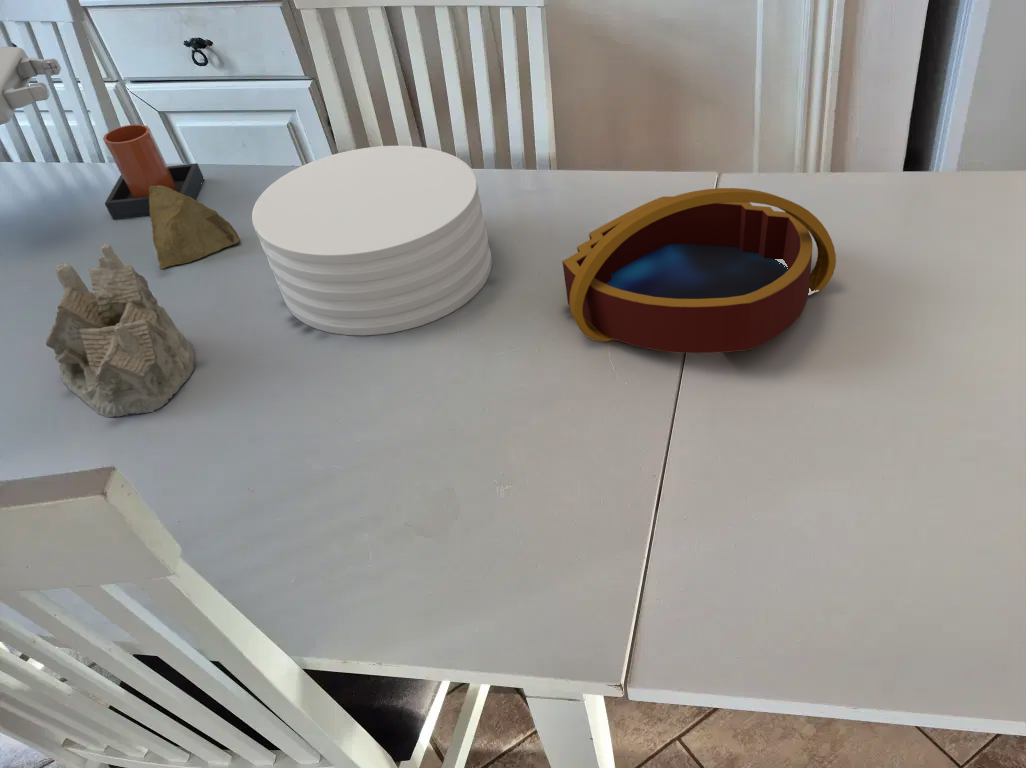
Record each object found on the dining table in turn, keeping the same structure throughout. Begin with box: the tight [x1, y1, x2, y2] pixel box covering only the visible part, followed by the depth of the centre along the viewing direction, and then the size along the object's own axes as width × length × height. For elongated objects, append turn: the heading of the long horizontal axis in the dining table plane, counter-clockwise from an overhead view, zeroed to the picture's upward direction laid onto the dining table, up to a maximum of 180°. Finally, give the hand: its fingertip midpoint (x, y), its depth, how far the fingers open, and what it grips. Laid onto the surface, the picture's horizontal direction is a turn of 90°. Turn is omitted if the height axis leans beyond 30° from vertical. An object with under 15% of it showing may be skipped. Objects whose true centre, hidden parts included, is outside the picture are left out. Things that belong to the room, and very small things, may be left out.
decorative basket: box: [561, 187, 837, 354], centre depth 101 cm, size 34×29×15 cm
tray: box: [104, 162, 205, 221], centre depth 131 cm, size 12×11×3 cm
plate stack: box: [251, 145, 493, 336], centre depth 110 cm, size 28×28×12 cm
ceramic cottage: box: [44, 243, 196, 418], centre depth 96 cm, size 16×16×15 cm
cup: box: [102, 123, 178, 198], centre depth 128 cm, size 6×6×10 cm
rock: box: [149, 185, 241, 270], centre depth 118 cm, size 11×9×10 cm
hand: (52, 78), depth 118 cm, fingers open, 8 cm apart
